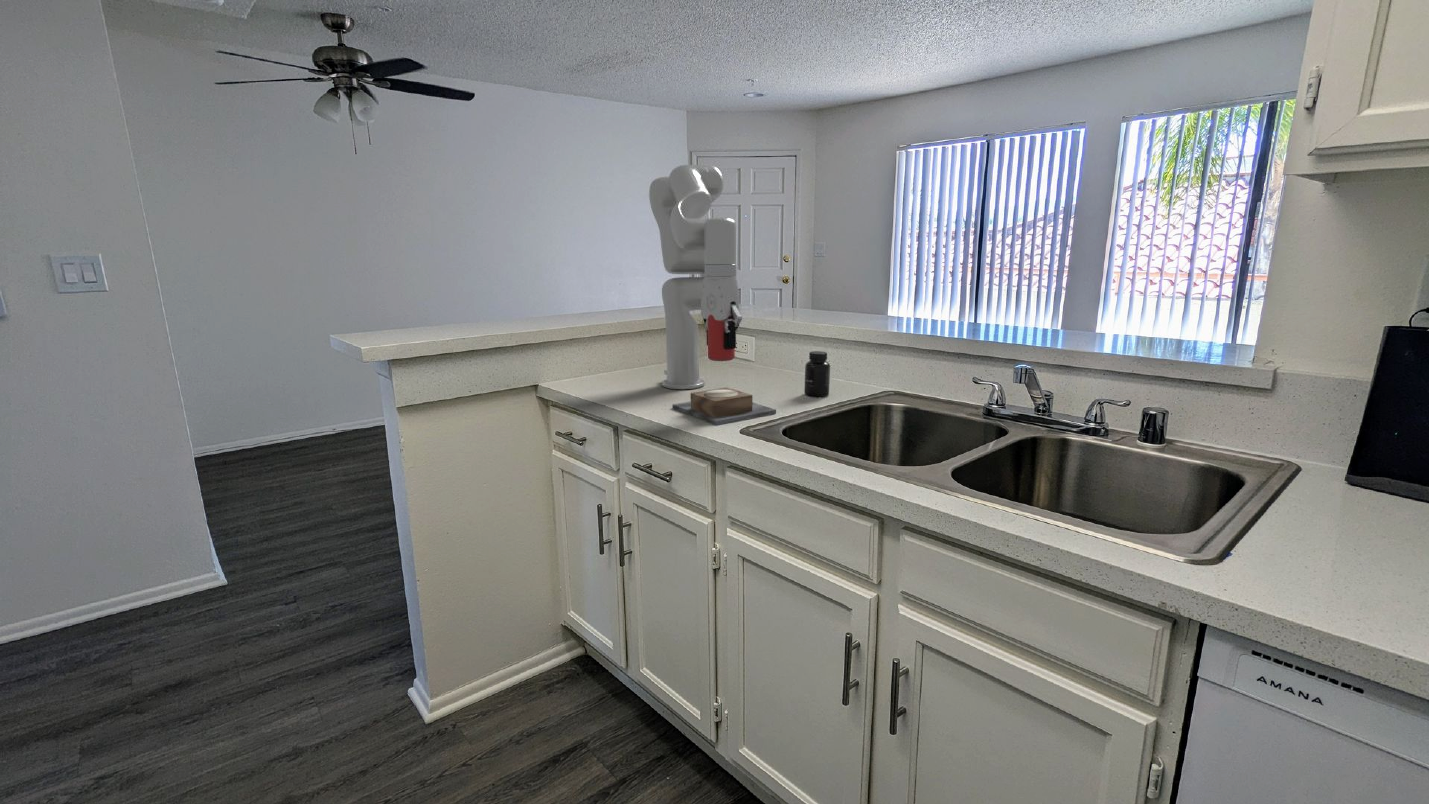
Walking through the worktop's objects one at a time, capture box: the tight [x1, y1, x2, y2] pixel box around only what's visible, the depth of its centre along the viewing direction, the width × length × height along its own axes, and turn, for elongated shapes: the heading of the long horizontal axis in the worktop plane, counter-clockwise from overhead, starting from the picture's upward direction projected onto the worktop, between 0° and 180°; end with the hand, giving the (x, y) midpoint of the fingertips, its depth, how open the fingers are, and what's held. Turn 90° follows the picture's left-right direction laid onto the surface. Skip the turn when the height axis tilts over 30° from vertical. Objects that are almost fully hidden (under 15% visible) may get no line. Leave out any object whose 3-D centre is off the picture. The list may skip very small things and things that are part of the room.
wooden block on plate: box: [671, 386, 777, 426], centre depth 169 cm, size 20×18×5 cm
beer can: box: [707, 315, 736, 362], centre depth 162 cm, size 7×7×12 cm
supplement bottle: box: [803, 350, 831, 399], centre depth 184 cm, size 7×7×12 cm
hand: (721, 346), depth 163 cm, fingers closed on beer can, 6 cm apart
